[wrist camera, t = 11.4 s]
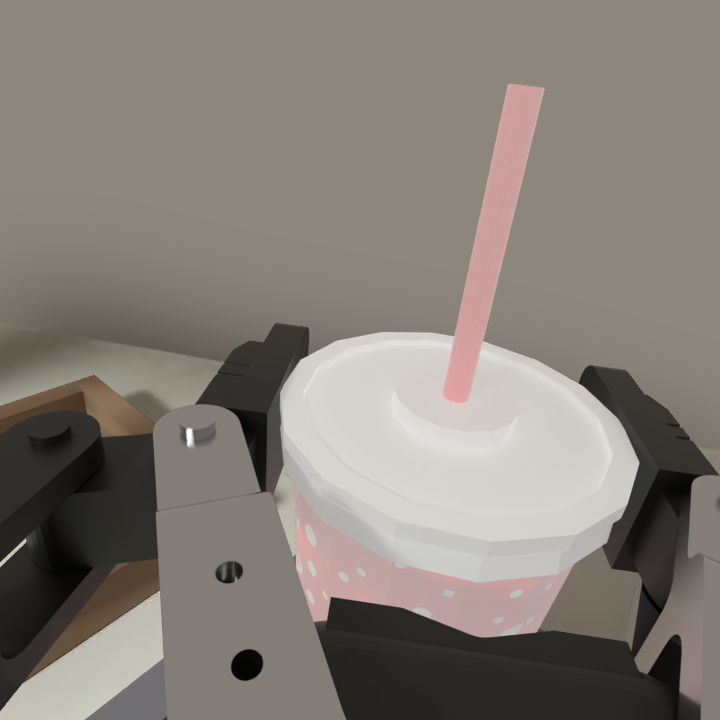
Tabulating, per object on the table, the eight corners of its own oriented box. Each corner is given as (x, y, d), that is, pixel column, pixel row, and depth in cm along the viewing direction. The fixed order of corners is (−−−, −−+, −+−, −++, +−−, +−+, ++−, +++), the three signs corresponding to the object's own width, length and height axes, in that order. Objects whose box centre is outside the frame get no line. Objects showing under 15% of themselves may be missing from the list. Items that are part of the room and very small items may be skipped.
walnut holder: (-217, 529, 18) (-244, 486, 17) (100, 409, 25) (94, 374, 25) (-141, 793, 12) (-176, 748, 11) (241, 534, 20) (240, 494, 19)
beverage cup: (481, 918, 10) (955, 119, 3) (215, 760, 12) (178, 38, 5) (521, 644, 15) (737, 114, 8) (331, 563, 17) (387, 75, 10)
